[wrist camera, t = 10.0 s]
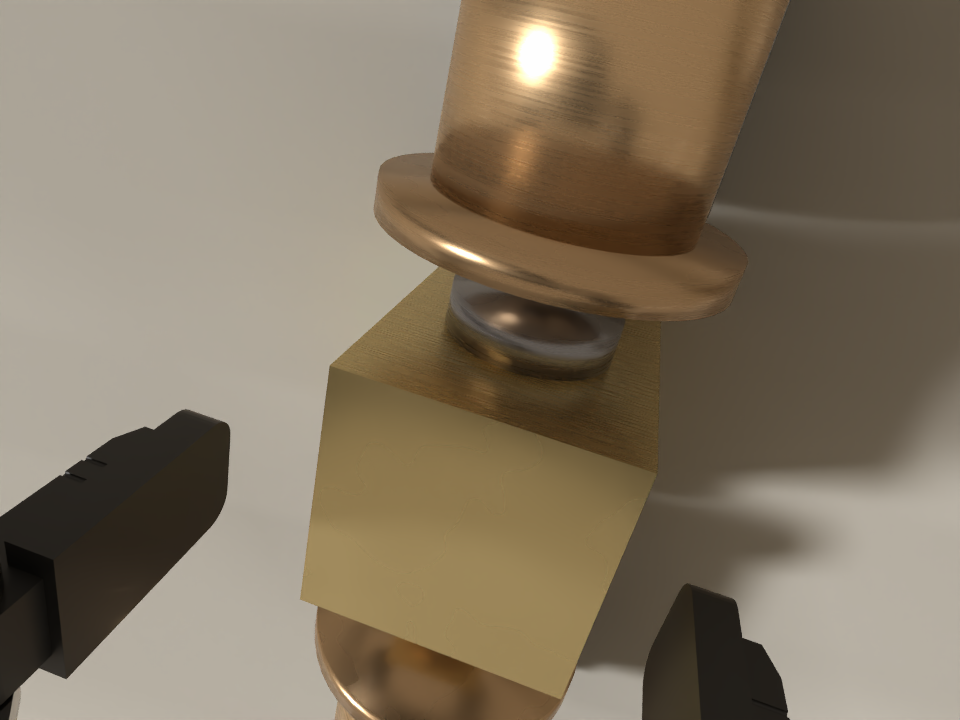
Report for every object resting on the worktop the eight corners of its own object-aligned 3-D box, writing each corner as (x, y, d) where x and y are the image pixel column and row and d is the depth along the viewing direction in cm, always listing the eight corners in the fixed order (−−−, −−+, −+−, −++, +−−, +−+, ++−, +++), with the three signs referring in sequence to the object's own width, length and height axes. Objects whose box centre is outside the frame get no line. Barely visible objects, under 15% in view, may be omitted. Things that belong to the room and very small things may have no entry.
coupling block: (466, 216, 16) (335, 317, 9) (672, 276, 15) (677, 427, 9) (419, 441, 19) (296, 628, 12) (589, 498, 18) (549, 727, 12)
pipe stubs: (370, 604, 22) (248, 828, 15) (511, -134, 13) (354, -335, 6) (544, 669, 21) (491, 934, 15) (831, -68, 12) (1026, -221, 5)
